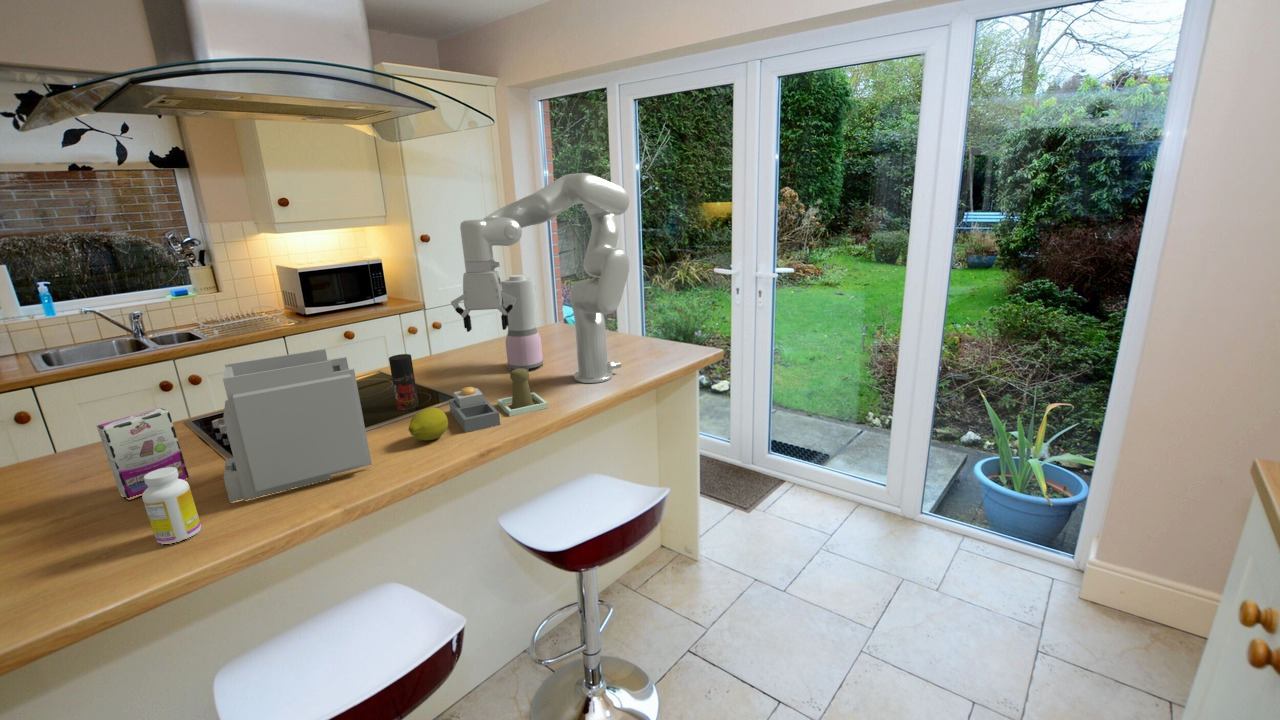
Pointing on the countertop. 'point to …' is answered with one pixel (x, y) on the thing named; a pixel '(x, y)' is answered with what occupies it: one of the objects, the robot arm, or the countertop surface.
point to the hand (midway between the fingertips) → (487, 329)
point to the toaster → (291, 423)
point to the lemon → (428, 424)
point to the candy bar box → (141, 449)
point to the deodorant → (403, 381)
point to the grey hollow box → (475, 415)
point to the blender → (522, 324)
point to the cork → (520, 388)
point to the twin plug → (468, 397)
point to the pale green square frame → (526, 409)
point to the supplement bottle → (170, 506)
